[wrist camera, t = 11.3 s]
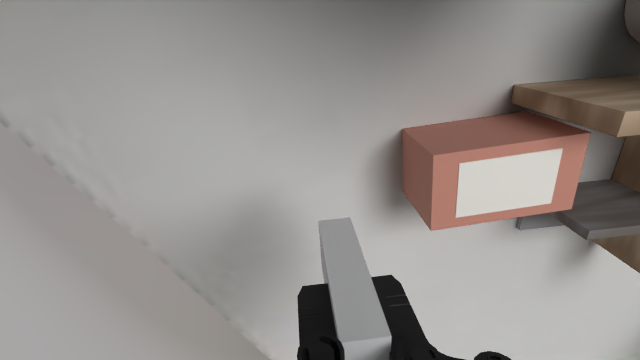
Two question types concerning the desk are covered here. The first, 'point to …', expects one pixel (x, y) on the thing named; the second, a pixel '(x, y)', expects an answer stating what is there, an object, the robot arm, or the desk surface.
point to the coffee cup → (633, 18)
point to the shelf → (631, 170)
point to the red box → (491, 168)
